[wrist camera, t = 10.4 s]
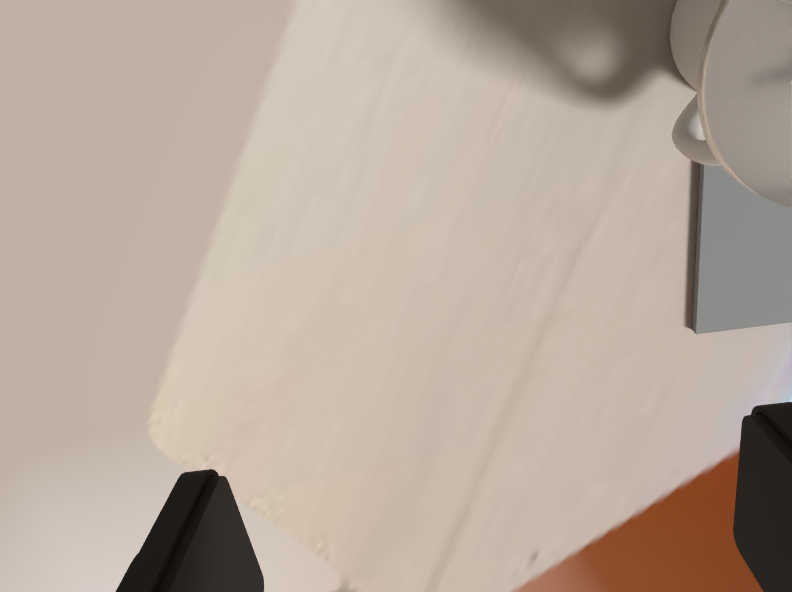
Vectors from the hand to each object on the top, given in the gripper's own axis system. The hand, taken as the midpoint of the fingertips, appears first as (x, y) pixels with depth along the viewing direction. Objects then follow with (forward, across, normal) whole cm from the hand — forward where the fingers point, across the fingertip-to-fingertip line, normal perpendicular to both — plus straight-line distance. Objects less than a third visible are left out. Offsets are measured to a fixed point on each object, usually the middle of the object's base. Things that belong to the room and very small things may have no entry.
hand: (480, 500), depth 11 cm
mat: (+28, -22, +8) cm, 37 cm away
